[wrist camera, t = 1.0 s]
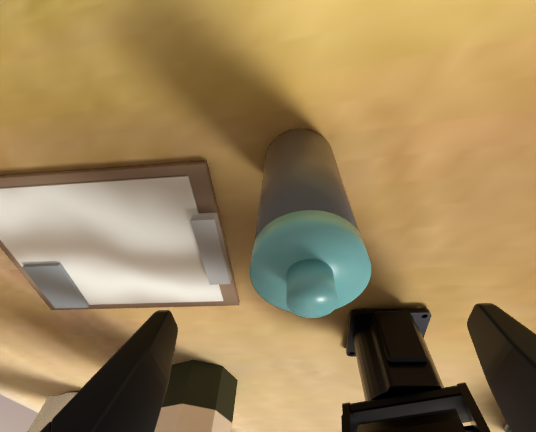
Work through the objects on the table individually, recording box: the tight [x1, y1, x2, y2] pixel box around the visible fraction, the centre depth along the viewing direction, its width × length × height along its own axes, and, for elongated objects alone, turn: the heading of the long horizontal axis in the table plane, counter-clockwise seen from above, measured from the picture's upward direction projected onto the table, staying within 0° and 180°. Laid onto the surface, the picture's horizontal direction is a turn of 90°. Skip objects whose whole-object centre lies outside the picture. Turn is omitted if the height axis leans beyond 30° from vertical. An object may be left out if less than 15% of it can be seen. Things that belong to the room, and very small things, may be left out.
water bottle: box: [250, 129, 371, 318], centre depth 13 cm, size 4×4×10 cm
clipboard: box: [0, 161, 239, 310], centre depth 22 cm, size 13×17×1 cm
